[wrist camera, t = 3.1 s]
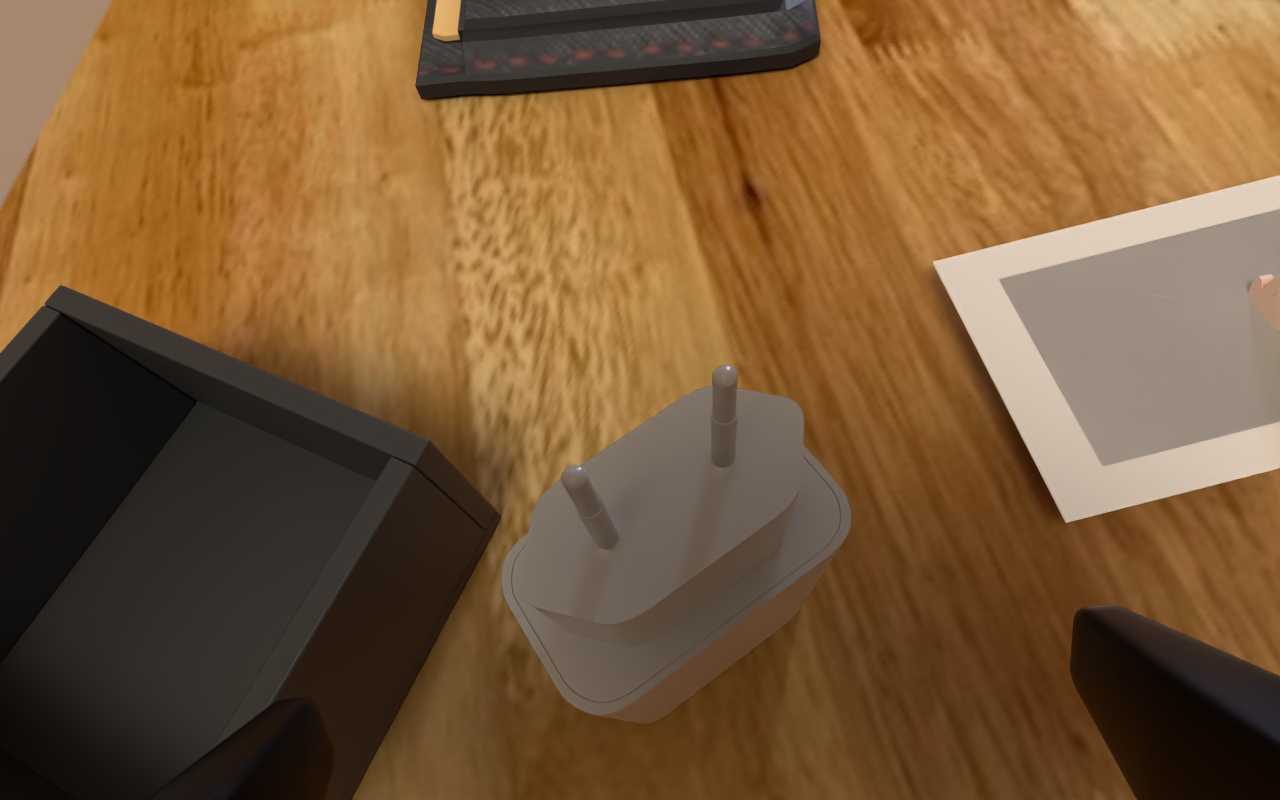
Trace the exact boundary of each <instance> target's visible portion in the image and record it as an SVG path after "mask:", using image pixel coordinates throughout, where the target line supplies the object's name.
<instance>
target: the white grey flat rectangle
mask: <svg viewBox="0 0 1280 800" xmlns="http://www.w3.org/2000/svg"><path fill="white" fill-rule="evenodd" d="M932 263H933V265H934V267H935V269H936V271H937V273H938V275H939V277H940V279H941V281H942V283H943V285H944V287H945V289H946V291H947V292H948V294H949V296H950V298H951V300H952V302H953V304H954V306H955V308H956V310H957V312H958V314H959V316H960V318H961V320H962V322H963V324H964V326H965V328H966V330H967V332H968V334H969V335H970V337H971V339H972V341H973V343H974V345H975V347H976V349H977V351H978V353H979V355H980V357H981V359H982V361H983V363H984V365H985V367H986V369H987V371H988V373H989V375H990V376H991V378H992V380H993V382H994V384H995V386H996V388H997V390H998V392H999V394H1000V396H1001V398H1002V400H1003V402H1004V404H1005V406H1006V408H1007V410H1008V412H1009V414H1010V416H1011V418H1012V419H1013V421H1014V423H1015V425H1016V427H1017V429H1018V431H1019V433H1020V435H1021V437H1022V439H1023V441H1024V443H1025V445H1026V447H1027V449H1028V451H1029V453H1030V455H1031V457H1032V459H1033V460H1034V462H1035V464H1036V466H1037V468H1038V470H1039V472H1040V474H1041V476H1042V478H1043V480H1044V482H1045V484H1046V486H1047V488H1048V490H1049V492H1050V494H1051V496H1052V498H1053V500H1054V502H1055V503H1056V505H1057V507H1058V509H1059V511H1060V513H1061V515H1062V517H1063V519H1064V521H1065V523H1068V522H1072V521H1076V520H1080V519H1084V518H1088V517H1091V516H1095V515H1099V514H1103V513H1107V512H1111V511H1115V510H1119V509H1123V508H1127V507H1131V506H1135V505H1138V504H1142V503H1146V502H1150V501H1154V500H1158V499H1162V498H1166V497H1170V496H1174V495H1178V494H1182V493H1185V492H1189V491H1193V490H1197V489H1201V488H1205V487H1209V486H1213V485H1217V484H1221V483H1225V482H1229V481H1232V480H1236V479H1240V478H1244V477H1248V476H1252V475H1256V474H1260V473H1264V472H1268V471H1272V470H1275V469H1279V468H1280V175H1279V176H1275V177H1271V178H1267V179H1263V180H1259V181H1255V182H1250V183H1246V184H1242V185H1238V186H1234V187H1230V188H1226V189H1222V190H1218V191H1214V192H1210V193H1206V194H1202V195H1198V196H1194V197H1190V198H1186V199H1182V200H1178V201H1174V202H1170V203H1166V204H1162V205H1158V206H1154V207H1150V208H1146V209H1142V210H1138V211H1134V212H1130V213H1126V214H1122V215H1118V216H1114V217H1110V218H1106V219H1102V220H1098V221H1094V222H1090V223H1086V224H1082V225H1078V226H1074V227H1070V228H1066V229H1062V230H1058V231H1054V232H1050V233H1046V234H1042V235H1038V236H1034V237H1030V238H1026V239H1022V240H1018V241H1014V242H1010V243H1006V244H1002V245H998V246H994V247H990V248H986V249H982V250H978V251H974V252H970V253H966V254H962V255H958V256H954V257H950V258H946V259H942V260H938V261H934V262H932Z"/></svg>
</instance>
